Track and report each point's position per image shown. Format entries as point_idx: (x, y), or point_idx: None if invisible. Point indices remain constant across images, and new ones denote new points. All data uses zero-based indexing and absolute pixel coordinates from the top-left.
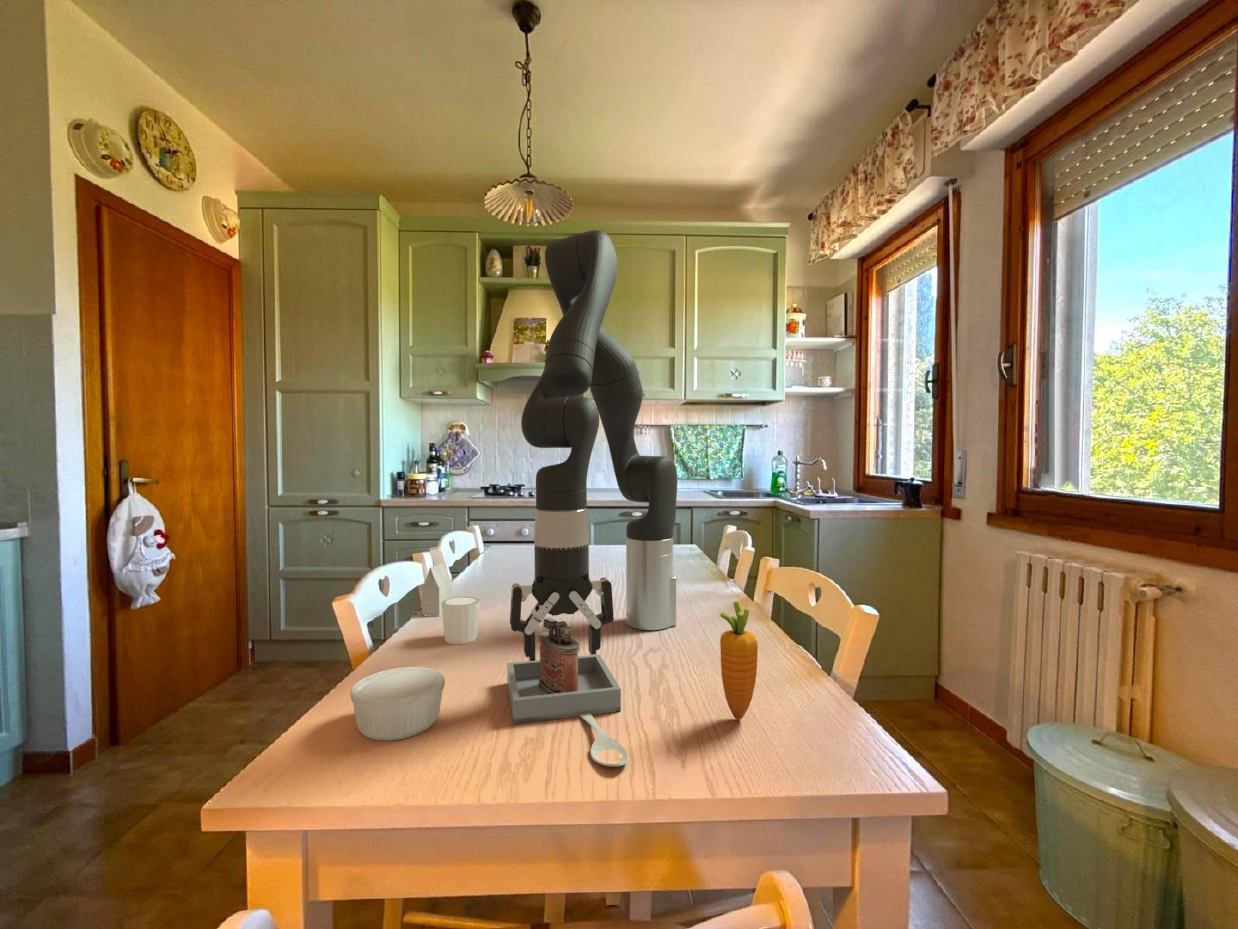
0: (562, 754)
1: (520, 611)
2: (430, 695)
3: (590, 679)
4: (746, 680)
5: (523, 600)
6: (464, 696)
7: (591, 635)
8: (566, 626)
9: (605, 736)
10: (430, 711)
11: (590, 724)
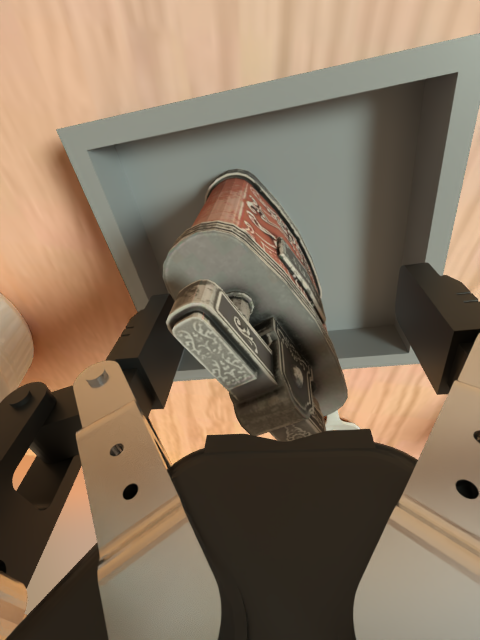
0: None
1: (49, 533)
2: None
3: (383, 155)
4: None
5: (24, 616)
6: (14, 214)
7: (425, 371)
8: (306, 424)
9: (339, 424)
10: (21, 378)
11: None
